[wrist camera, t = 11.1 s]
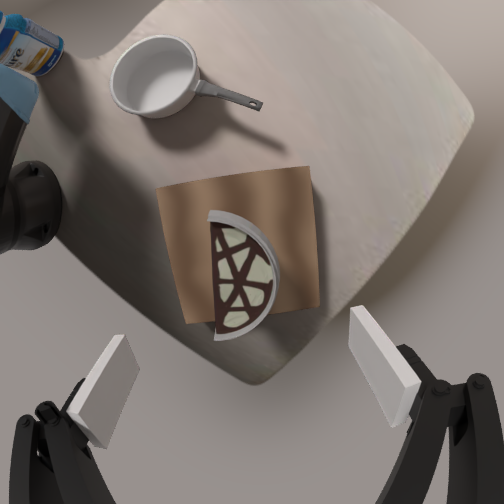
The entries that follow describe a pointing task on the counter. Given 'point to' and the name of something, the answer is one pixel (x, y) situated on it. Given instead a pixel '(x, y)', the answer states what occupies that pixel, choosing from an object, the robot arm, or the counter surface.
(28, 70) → the beverage bottle
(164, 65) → the saucepan
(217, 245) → the food container
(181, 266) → the walnut base
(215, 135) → the counter surface
